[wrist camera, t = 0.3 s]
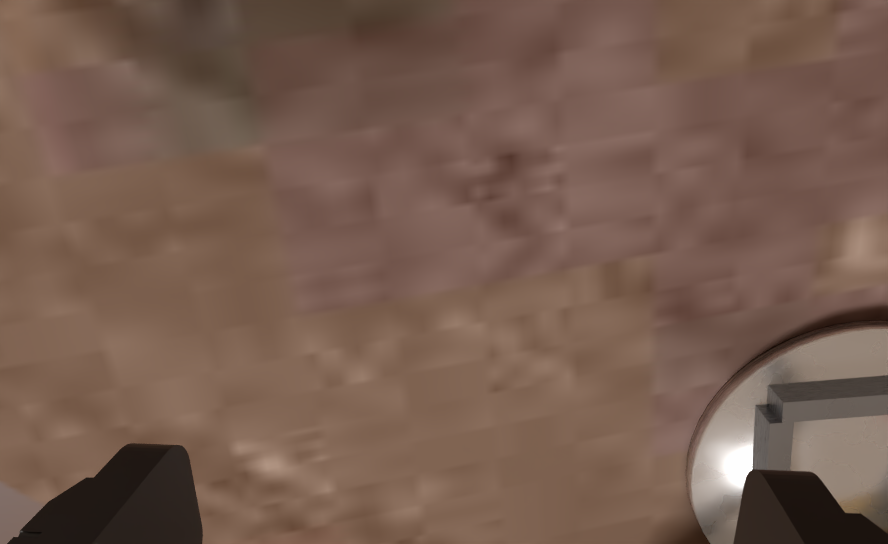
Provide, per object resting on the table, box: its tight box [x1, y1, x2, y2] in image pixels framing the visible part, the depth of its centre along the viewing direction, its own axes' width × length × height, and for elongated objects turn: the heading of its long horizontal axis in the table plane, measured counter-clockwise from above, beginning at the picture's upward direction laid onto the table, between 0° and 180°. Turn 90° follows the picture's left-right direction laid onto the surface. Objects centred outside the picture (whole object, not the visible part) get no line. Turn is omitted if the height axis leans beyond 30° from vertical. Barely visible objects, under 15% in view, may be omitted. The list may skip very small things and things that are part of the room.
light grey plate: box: [686, 321, 888, 544], centre depth 29 cm, size 15×15×2 cm
